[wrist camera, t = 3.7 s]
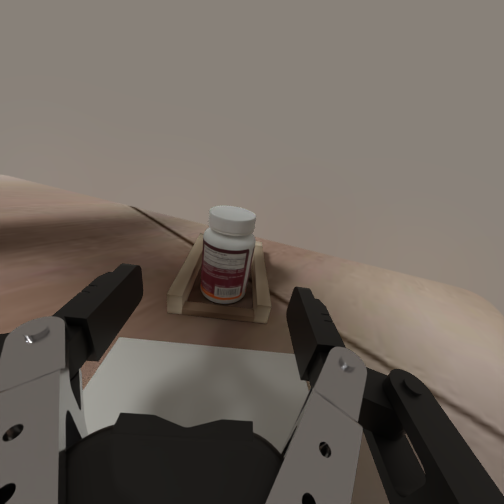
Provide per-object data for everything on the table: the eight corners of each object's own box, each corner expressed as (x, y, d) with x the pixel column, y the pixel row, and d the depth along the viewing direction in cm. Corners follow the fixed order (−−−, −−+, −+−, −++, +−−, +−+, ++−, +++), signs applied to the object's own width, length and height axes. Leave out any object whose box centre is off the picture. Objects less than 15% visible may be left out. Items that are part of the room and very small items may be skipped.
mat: (-98, 666, 5) (-105, 666, 5) (119, 340, 14) (119, 337, 14) (368, 643, 6) (373, 644, 6) (298, 357, 15) (299, 354, 15)
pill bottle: (218, 271, 24) (226, 201, 20) (253, 288, 22) (269, 214, 18) (189, 291, 20) (192, 208, 16) (229, 313, 18) (243, 226, 14)
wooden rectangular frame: (167, 312, 17) (166, 294, 16) (199, 246, 29) (200, 233, 28) (266, 323, 18) (271, 306, 17) (259, 254, 29) (261, 242, 28)
